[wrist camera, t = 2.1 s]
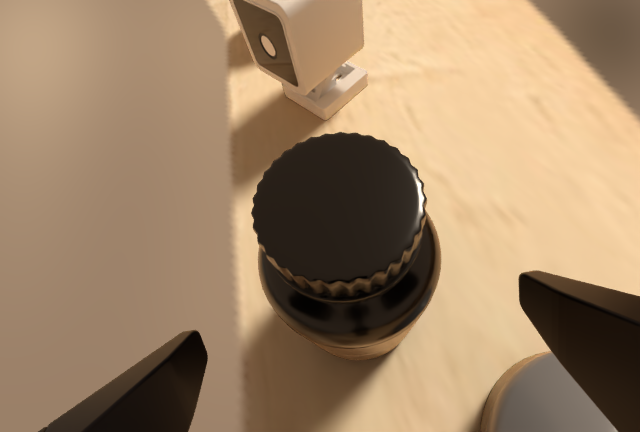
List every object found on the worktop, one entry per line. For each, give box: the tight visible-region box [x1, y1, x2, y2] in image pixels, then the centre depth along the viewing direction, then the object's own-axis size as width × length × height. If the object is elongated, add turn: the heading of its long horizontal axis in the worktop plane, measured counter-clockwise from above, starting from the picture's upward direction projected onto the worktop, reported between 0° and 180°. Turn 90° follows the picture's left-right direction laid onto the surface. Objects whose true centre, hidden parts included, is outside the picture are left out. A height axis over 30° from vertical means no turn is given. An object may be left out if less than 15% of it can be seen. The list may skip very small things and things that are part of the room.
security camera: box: [229, 0, 368, 120], centre depth 23 cm, size 6×7×10 cm
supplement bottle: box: [251, 132, 441, 360], centre depth 13 cm, size 7×7×12 cm
